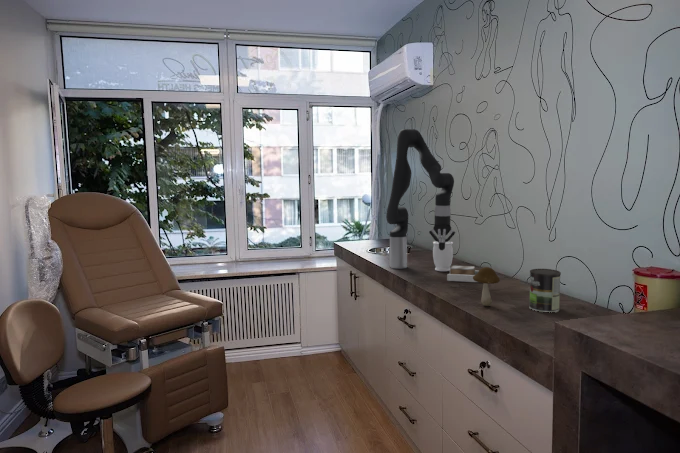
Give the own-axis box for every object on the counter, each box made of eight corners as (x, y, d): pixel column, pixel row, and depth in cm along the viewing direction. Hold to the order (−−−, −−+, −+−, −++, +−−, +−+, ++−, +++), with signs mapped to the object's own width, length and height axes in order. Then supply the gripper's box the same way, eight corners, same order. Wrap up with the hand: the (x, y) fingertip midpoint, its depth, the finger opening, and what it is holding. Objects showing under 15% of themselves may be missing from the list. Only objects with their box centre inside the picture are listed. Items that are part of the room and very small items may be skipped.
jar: (453, 272, 235) (453, 243, 233) (432, 271, 237) (432, 243, 235) (452, 268, 245) (452, 240, 244) (432, 267, 247) (432, 240, 246)
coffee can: (538, 313, 162) (538, 274, 161) (524, 305, 172) (524, 269, 171) (565, 312, 163) (566, 273, 161) (550, 304, 173) (551, 268, 172)
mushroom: (488, 300, 180) (488, 263, 178) (505, 308, 169) (505, 269, 167) (467, 302, 178) (467, 265, 176) (482, 311, 167) (483, 270, 165)
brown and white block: (450, 279, 220) (450, 268, 219) (451, 276, 226) (451, 265, 226) (474, 280, 216) (474, 269, 216) (474, 277, 223) (475, 266, 222)
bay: (447, 280, 216) (447, 274, 216) (449, 275, 228) (449, 269, 228) (480, 282, 211) (480, 275, 211) (481, 276, 223) (481, 270, 223)
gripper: (427, 215, 218) (427, 250, 221) (455, 215, 214) (455, 252, 216) (429, 213, 225) (429, 248, 228) (457, 214, 221) (456, 249, 223)
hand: (441, 250), depth 222 cm, fingers closed
